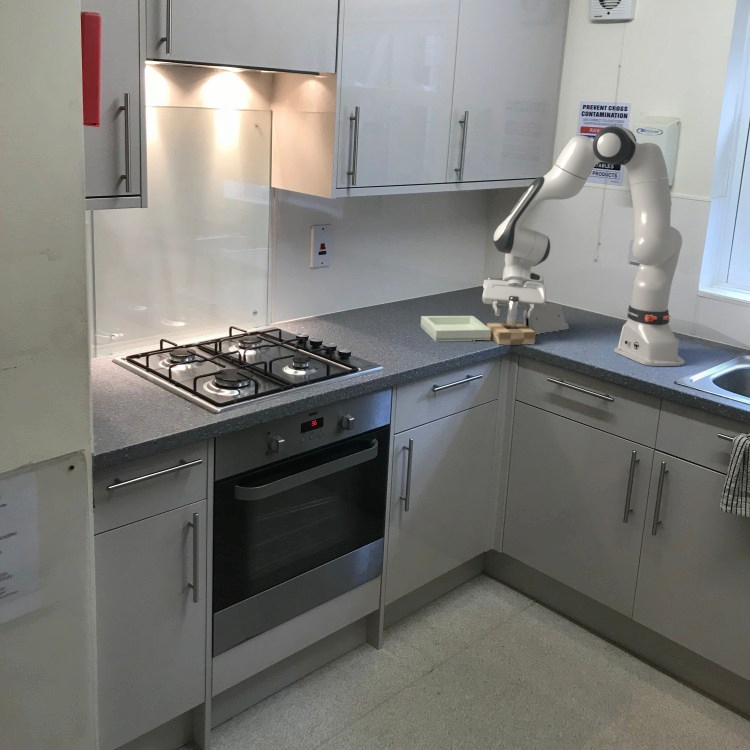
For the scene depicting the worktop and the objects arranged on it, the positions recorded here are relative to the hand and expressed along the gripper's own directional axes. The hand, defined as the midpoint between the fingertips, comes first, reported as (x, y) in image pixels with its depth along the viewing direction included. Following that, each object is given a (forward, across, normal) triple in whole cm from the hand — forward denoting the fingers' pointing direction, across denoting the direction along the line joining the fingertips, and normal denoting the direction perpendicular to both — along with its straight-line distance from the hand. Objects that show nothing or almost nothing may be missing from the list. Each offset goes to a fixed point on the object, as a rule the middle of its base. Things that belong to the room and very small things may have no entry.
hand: (512, 316), depth 284 cm
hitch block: (+5, 0, +6) cm, 8 cm away
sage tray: (+4, -18, +7) cm, 20 cm away
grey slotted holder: (-7, +11, +19) cm, 23 cm away
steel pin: (+5, 0, +6) cm, 8 cm away
